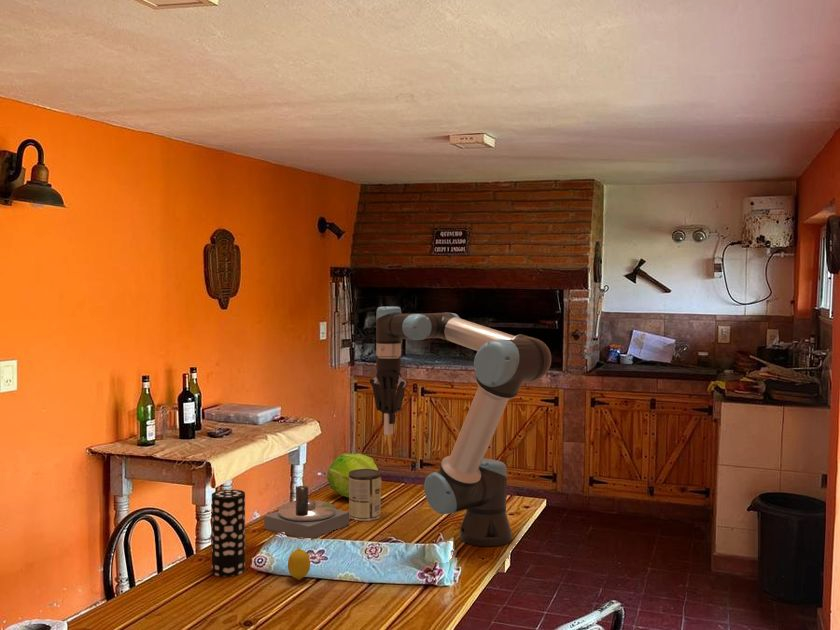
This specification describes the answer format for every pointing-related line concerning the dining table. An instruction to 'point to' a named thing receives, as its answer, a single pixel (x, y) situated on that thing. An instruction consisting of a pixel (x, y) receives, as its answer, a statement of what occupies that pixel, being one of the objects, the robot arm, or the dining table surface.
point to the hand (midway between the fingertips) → (388, 434)
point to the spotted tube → (228, 532)
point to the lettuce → (347, 470)
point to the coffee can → (364, 494)
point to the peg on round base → (306, 508)
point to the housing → (306, 524)
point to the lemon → (298, 564)
